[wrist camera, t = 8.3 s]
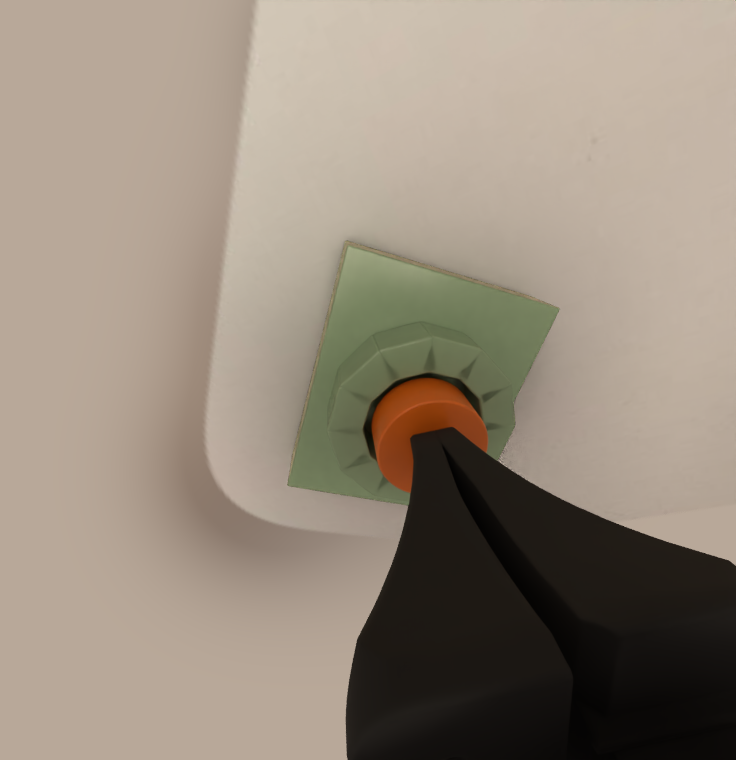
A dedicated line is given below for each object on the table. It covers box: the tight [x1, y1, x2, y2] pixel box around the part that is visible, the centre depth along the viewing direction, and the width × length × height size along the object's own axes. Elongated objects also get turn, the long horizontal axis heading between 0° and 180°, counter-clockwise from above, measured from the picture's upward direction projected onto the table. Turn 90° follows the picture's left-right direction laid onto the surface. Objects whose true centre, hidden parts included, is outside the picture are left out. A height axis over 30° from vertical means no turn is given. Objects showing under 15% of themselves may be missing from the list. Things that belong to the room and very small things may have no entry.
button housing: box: [287, 241, 559, 505], centre depth 15 cm, size 10×8×4 cm
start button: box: [371, 378, 488, 493], centre depth 12 cm, size 4×4×2 cm
